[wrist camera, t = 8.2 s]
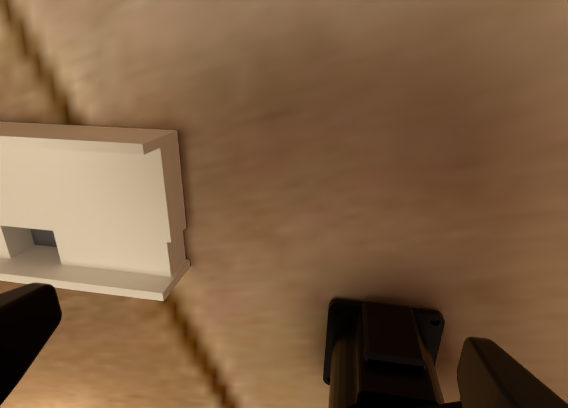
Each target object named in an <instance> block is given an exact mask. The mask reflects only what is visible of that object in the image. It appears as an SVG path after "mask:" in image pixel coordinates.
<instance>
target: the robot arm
mask: <svg viewBox="0 0 568 408" xmlns="http://www.w3.org/2000/svg"><path fill="white" fill-rule="evenodd" d="M334 307H340V308H341V309H338V310H337V309H334ZM61 317H62V311H61V308H60V304H59V300H58V297H57V293H56V290H55V288H54V287H53V285H51V284H46V283H36V282H35V283H30V284H27V285H24V286H21V287H18V288H16V289H13V290H10V291H7V292H4V293H1V294H0V405H1V404H2V403H3V402H4V400H5V399H6V398H7V397H8V395H9V394H10V393H11V392H12V390H13V389H14V388H15V386H16V385H17V384H18V382H19V381H20V380H21V378H22V377H23V375H24V374H25V373H26V371H27V370H28V368H29V367H30V365H31V364H32V362H33V361H34V360H35V358H36V357H37V355H38V354H39V352H40V351H41V349H42V348H43V347H44V345H45V344H46V342H47V341H48V339H49V338H50V336H51V335H52V334H53V332H54V331H55V329H56V328H57V326H58V325H59V323H60V321H61ZM432 319H438V320H436V321H431V320H432ZM444 324H445V322H444V318H443V315H442V314H441V313H440V312H439V311H435V310H427V309H418V308H410V307H405V306H396V305H388V304H379V303H371V302H358V301H350V300H341V299H334V300H332V301H331V302H330V303H329V310H328V323H327V335H326V348H325V361H324V374H323V381H324V382H325V383H326V384H328V385H330V394H329V408H568V404H567V403H566V402H565V401H564V400H562V399H561V398H560V397H559V396H558V395H556V394H555V393H554V392H553V391H552V390H551V389H549V388H548V387H547V386H546V385H545V384H543V383H542V382H541V381H540V380H539V379H537V378H536V377H535V376H534V375H533V374H531V373H530V372H529V371H528V370H527V369H525V368H524V367H523V366H522V365H521V364H520V363H518V362H517V361H516V360H515V359H514V358H512V357H511V356H510V355H509V354H508V353H506V352H505V351H504V350H503V349H502V348H500V347H499V346H498V345H497V344H496V343H494V342H493V341H492V340H490V339H486V338H478V337H468V338H466V340H465V342H464V345H463V349H462V352H461V356H460V360H459V364H458V368H457V381H458V387H459V392H460V397H461V398H460V400H461V401H458V402H451V403H444V399H443V396H442V392H441V389H440V385H439V382H438V378H437V375H436V371H435V367H434V366H435V362H436V358H437V354H438V349H439V345H440V341H441V336H442V332H443V328H444Z"/></svg>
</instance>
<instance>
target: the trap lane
mask: <svg viewBox="0 0 568 408" xmlns="http://www.w3.org/2000/svg"><path fill="white" fill-rule="evenodd" d="M185 228H186V217H185V206H184V196H183V185H182V175H181V164H180V154H179V144H178V133H177V130H162V129H142V128H122V127H102V126H82V125H61V124H41V123H21V122H1V121H0V280H1V281H9V282H16V283H24V284H30V283H35V282H36V283H46V284H51V285H53V287H56V288H64V289H72V290H80V291H88V292H95V293H103V294H111V295H119V296H127V297H135V298H143V299H151V300H159V301H164V300H165V299H166V297H167V296H168V295H169V293H170V292H171V291H172V290H173V288H174V287H175V286H176V284H177V283H178V282H179V281H180V279H181V278H182V277H183V275H184V274H185V273H186V271H187V270H188V269H189V268H190V260H188V259H186V256H185V246H184V236H183V230H184V229H185Z"/></svg>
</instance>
